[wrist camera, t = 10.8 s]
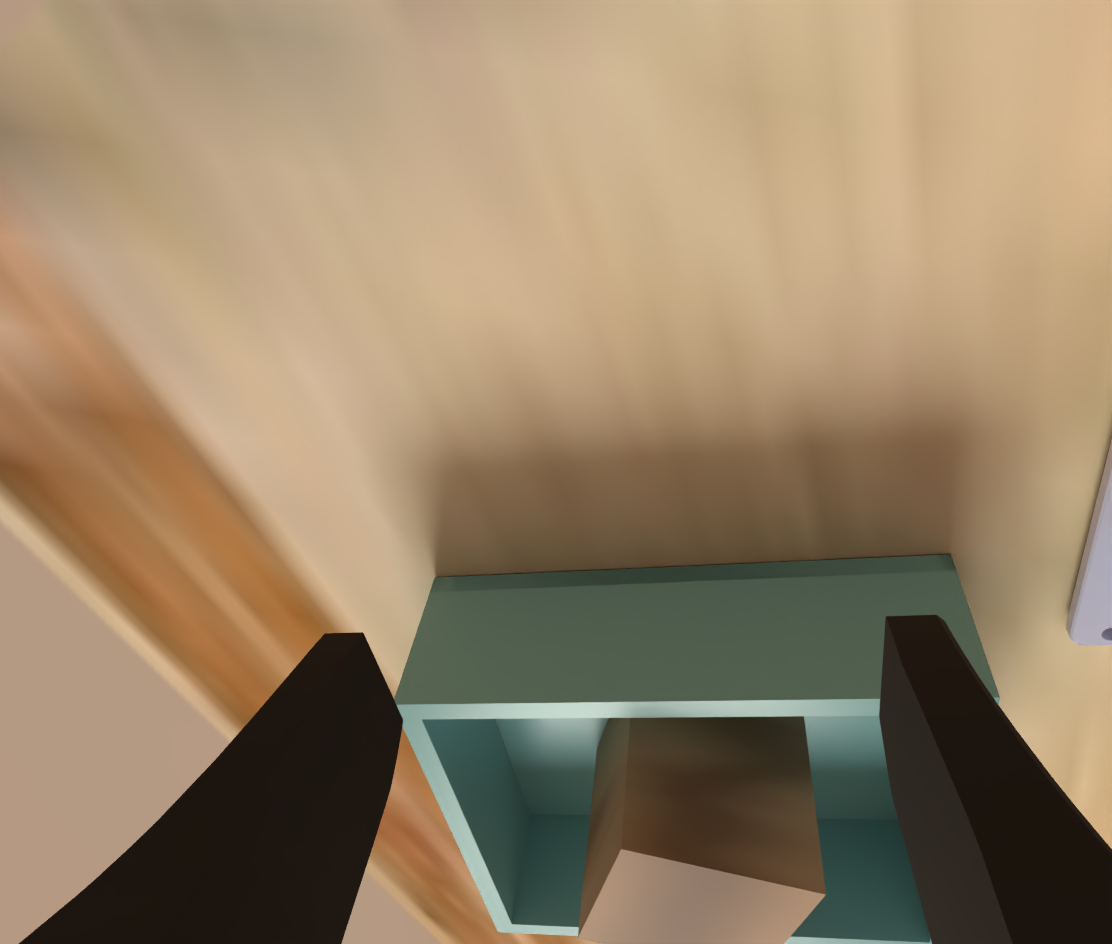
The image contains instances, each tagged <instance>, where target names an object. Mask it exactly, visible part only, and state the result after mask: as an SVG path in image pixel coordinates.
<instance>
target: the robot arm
mask: <svg viewBox="0 0 1112 944" xmlns="http://www.w3.org/2000/svg"><path fill="white" fill-rule="evenodd" d="M1110 627H1112V440H1111V444H1110V448H1109V452H1108V456H1107V460H1106V464H1105V469H1104V473H1103V477H1102V481H1101V485H1100V489H1099V493H1098V497H1097V501H1096V505H1095V509H1094V513H1093V517H1092V521H1091V525H1090V529H1089V533H1088V537H1087V541H1086V545H1085V549H1084V553H1083V557H1082V561H1081V566H1080V570H1079V574H1078V578H1077V582H1076V586H1075V590H1074V594H1073V598H1072V602H1071V606H1070V610H1069V614H1068V618H1067V622H1066V630H1067V632H1068V635H1069V637H1070V639H1071V640H1072V641H1073V642H1074V643H1076V644H1079V645H1085V646H1102V645H1112V628H1110ZM1107 628H1109V629H1107ZM879 719H880V726H881V732H882V739H883V745H884V751H885V758H886V764H887V770H888V776H889V782H890V788H891V794H892V798H893V801H894V805H895V809H896V813H897V817H898V820H899V824H900V828H901V831H902V835H903V839H904V843H905V846H906V850H907V854H908V857H909V861H910V865H911V868H912V872H913V876H914V879H915V883H916V887H917V890H918V894H919V898H920V901H921V905H922V909H923V912H924V916H925V920H926V923H927V927H928V931H929V934H930V938H931V942H932V944H1112V849H1111V848H1110V847H1109V846H1108V844H1107V843H1106V842H1105V841H1104V840H1103V839H1102V837H1101V836H1100V835H1099V834H1098V833H1097V831H1096V830H1095V829H1094V828H1093V827H1092V825H1091V824H1090V823H1089V822H1088V821H1087V819H1086V818H1085V817H1084V816H1083V815H1082V814H1081V812H1080V811H1079V810H1078V809H1077V808H1076V806H1075V805H1074V804H1073V803H1072V802H1071V800H1070V799H1069V798H1068V797H1067V795H1066V794H1065V793H1064V792H1063V790H1062V789H1061V788H1060V787H1059V785H1058V784H1057V783H1056V782H1055V780H1054V779H1053V778H1052V777H1051V775H1050V774H1049V773H1048V771H1047V770H1046V769H1045V767H1044V766H1043V765H1042V763H1041V762H1040V761H1039V759H1038V758H1037V757H1036V755H1035V754H1034V753H1033V751H1032V750H1031V749H1030V748H1029V746H1028V745H1027V744H1026V742H1025V741H1024V740H1023V738H1022V737H1021V736H1020V734H1019V733H1018V732H1017V730H1016V729H1015V728H1014V726H1013V725H1012V723H1011V722H1010V721H1009V719H1008V718H1007V716H1006V715H1005V714H1004V712H1003V711H1002V709H1001V708H1000V707H999V705H998V704H997V702H996V701H995V699H994V698H993V696H992V695H991V693H990V692H989V691H988V689H987V688H986V686H985V685H984V683H983V682H982V680H981V679H980V677H979V676H978V674H977V673H976V671H975V670H974V668H973V667H972V665H971V663H970V662H969V660H968V659H967V657H966V656H965V654H964V652H963V651H962V649H961V647H960V646H959V644H958V642H957V641H956V639H955V638H954V636H953V634H952V632H951V631H950V629H949V627H948V625H947V624H946V622H945V621H944V620H943V619H942V618H940V617H939V616H938V615H908V616H886V619H885V634H884V649H883V664H882V679H881V694H880V709H879ZM402 725H403V718H402V716H401V714H400V712H399V709H398V707H397V705H396V703H395V701H394V699H393V696H392V694H391V692H390V690H389V688H388V686H387V683H386V681H385V679H384V677H383V675H382V672H381V670H380V668H379V666H378V664H377V662H376V659H375V657H374V655H373V653H372V651H371V649H370V646H369V644H368V642H367V640H366V638H365V636H364V633H363V632H362V633H330V634H324V635H323V636H322V637H321V639H320V640H319V641H318V642H317V643H316V644H315V645H314V646H313V648H312V649H311V650H310V651H309V652H308V653H307V655H306V656H305V657H304V658H303V659H302V660H301V662H300V663H299V664H298V665H297V666H296V667H295V669H294V670H293V671H292V672H291V673H290V674H289V676H288V677H287V678H286V679H285V680H284V681H283V683H282V684H281V685H280V686H279V687H278V689H277V690H276V691H275V692H274V693H273V694H272V696H271V697H270V698H269V699H268V700H267V701H266V703H265V704H264V705H263V706H262V707H261V708H260V710H259V711H258V712H257V713H256V714H255V715H254V717H253V718H252V719H251V720H250V721H249V722H248V723H247V725H246V726H245V727H244V728H243V729H242V730H241V731H240V732H239V734H238V735H237V736H236V737H235V738H234V739H233V740H232V742H231V743H230V744H229V745H228V746H227V747H226V748H225V749H224V751H223V752H222V753H221V754H220V755H219V756H218V758H217V759H216V760H215V761H214V762H213V763H212V764H211V765H210V766H209V767H208V768H207V769H206V770H205V771H204V772H203V773H202V775H201V776H200V777H199V778H198V779H197V780H196V781H195V782H194V783H193V784H192V785H191V786H190V787H189V788H188V789H187V791H185V793H183V795H182V796H181V797H180V798H179V799H178V800H177V801H176V802H175V803H174V804H173V805H172V806H171V807H170V808H169V809H168V810H167V811H166V812H165V814H164V815H163V816H162V817H161V818H160V819H159V820H158V821H157V822H156V823H155V824H154V825H153V826H152V827H151V828H150V829H149V830H148V831H147V832H146V833H145V834H144V835H143V836H141V837H140V838H139V839H138V840H137V841H136V842H135V843H134V844H133V845H132V846H131V847H130V848H129V849H128V850H127V851H126V852H125V853H124V854H122V855H121V856H120V857H119V858H118V859H117V860H116V861H115V862H114V863H113V864H112V865H110V866H109V867H108V868H107V869H106V870H105V871H104V872H103V873H102V874H101V875H100V876H99V877H97V878H96V879H95V880H94V881H93V882H92V883H91V884H90V885H88V886H87V887H86V888H85V889H84V890H83V891H82V892H80V893H79V894H78V895H77V896H76V897H75V898H73V899H72V900H71V901H70V902H69V903H67V904H66V905H65V906H64V907H63V908H61V909H60V910H59V911H58V912H57V913H55V914H54V915H53V916H52V917H51V918H49V919H48V920H47V921H46V922H44V923H43V924H42V925H41V926H40V927H38V928H37V929H36V930H35V931H34V932H33V933H31V934H30V935H29V936H28V937H26V938H25V939H24V940H23V941H22V942H20V943H19V944H341V943H342V940H343V937H344V933H345V930H346V927H347V924H348V921H349V918H350V915H351V912H352V909H353V905H354V902H355V899H356V896H357V893H358V890H359V887H360V884H361V881H362V878H363V875H364V871H365V868H366V865H367V862H368V859H369V856H370V853H371V850H372V847H373V844H374V840H375V837H376V834H377V831H378V828H379V825H380V821H381V818H382V815H383V812H384V809H385V805H386V802H387V799H388V795H389V792H390V789H391V784H392V779H393V774H394V770H395V765H396V760H397V754H398V748H399V743H400V737H401V731H402Z"/></svg>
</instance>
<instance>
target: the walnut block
mask: <svg viewBox="0 0 1112 944" xmlns="http://www.w3.org/2000/svg"><path fill="white" fill-rule="evenodd" d="M825 895H826V891H825V882H824V874H823V866H822V858H821V850H820V842H819V833H818V825H817V817H816V809H815V801H814V793H813V785H812V776H811V768H810V760H809V752H808V744H807V736H806V728H805V719H804V716H782V717H660V718H609V719H608V721H607V724H606V726H605V729H604V732H603V734H602V737H601V739H600V742H599V744H598V747H597V753H596V763H595V773H594V783H593V793H592V803H591V813H590V822H589V832H588V842H587V852H586V862H585V872H584V882H583V892H582V902H581V912H580V921H579V931H578V938H580V939H584V940H589V941H593V942H598V943H602V944H784V943H785V942H786V941H787V940H788V939H789V938H790V936H791V935H792V934H793V933H794V932H795V930H796V929H797V928H798V927H799V926H800V925H801V923H802V922H803V921H804V920H805V919H806V918H807V916H808V915H809V914H810V913H811V912H812V911H813V909H814V908H815V907H816V906H817V905H818V903H819V902H820V901H821V900H822V899H823V898H824V896H825Z"/></svg>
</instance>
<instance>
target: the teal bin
mask: <svg viewBox="0 0 1112 944" xmlns="http://www.w3.org/2000/svg"><path fill="white" fill-rule="evenodd" d="M908 615H938V616H939V617H940V618H942V619H943V620H944V621H945V622H946V624H947V625H948V627H949V629H950V631H951V632H952V634H953V636H954V638H955V639H956V641H957V642H958V644H959V646H960V647H961V649H962V651H963V652H964V654H965V656H966V657H967V659H968V660H969V662H970V663H971V665H972V667H973V668H974V670H975V671H976V673H977V674H978V676H979V677H980V679H981V680H982V682H983V683H984V685H985V686H986V688H987V689H988V691H989V692H990V693H991V695H992V696H993V698H994V699H995V701H996V702H997V704H999V699H1000V696H999V694H998V691H997V688H996V685H995V682H994V679H993V676H992V673H991V670H990V667H989V665H988V662H987V659H986V656H985V653H984V650H983V647H982V644H981V641H980V638H979V636H978V633H977V630H976V627H975V624H974V621H973V618H972V615H971V612H970V609H969V607H968V604H967V601H966V598H965V595H964V592H963V589H962V586H961V583H960V580H959V577H958V575H957V572H956V569H955V566H954V563H953V560H952V557H951V554H948V555H926V556H903V557H881V558H859V559H836V560H814V561H792V562H769V563H747V564H725V565H702V566H680V567H658V568H635V569H613V570H591V571H568V572H546V573H524V574H501V575H479V576H456V577H435V579H434V582H433V585H432V588H431V591H430V594H429V597H428V600H427V603H426V606H425V609H424V612H423V615H422V618H421V621H420V624H419V627H418V630H417V633H416V636H415V639H414V642H413V645H412V648H411V651H410V654H409V657H408V660H407V663H406V666H405V669H404V672H403V675H402V678H401V681H400V684H399V687H398V690H397V693H396V696H395V699H394V701H395V703H396V705H397V707H398V709H399V712H400V714H401V716H402V718H403V725H402V726H403V729H404V731H405V733H406V735H407V737H408V739H409V741H410V744H411V746H412V748H413V750H414V752H415V754H416V756H417V759H418V761H419V763H420V765H421V767H422V769H423V772H424V774H425V776H426V778H427V780H428V782H429V784H430V787H431V789H432V791H433V793H434V795H435V797H436V800H437V802H438V804H439V806H440V808H441V810H442V812H443V815H444V817H445V819H446V821H447V823H448V825H449V827H450V830H451V832H452V834H453V836H454V838H455V840H456V843H457V845H458V847H459V849H460V851H461V853H462V855H463V858H464V860H465V862H466V864H467V866H468V868H469V870H470V873H471V875H472V877H473V879H474V881H475V883H476V886H477V888H478V890H479V892H480V894H481V896H482V898H483V901H484V903H485V905H486V907H487V909H488V911H489V914H490V916H491V918H492V920H493V922H494V924H495V926H496V929H497V931H498V932H504V933H526V934H548V935H570V936H578V931H579V921H580V912H581V902H582V892H583V882H584V872H585V862H586V852H587V842H588V832H589V822H590V813H591V803H592V793H593V783H594V773H595V763H596V753H597V747H598V744H599V742H600V739H601V737H602V734H603V732H604V729H605V726H606V724H607V721H608V719H609V718H660V717H782V716H804V719H805V728H806V736H807V744H808V752H809V760H810V768H811V776H812V785H813V793H814V801H815V809H816V817H817V825H818V833H819V842H820V850H821V858H822V866H823V874H824V882H825V891H826V895H825V896H824V898H823V899H822V900H821V901H820V902H819V903H818V905H817V906H816V907H815V908H814V909H813V911H812V912H811V913H810V914H809V915H808V916H807V918H806V919H805V920H804V921H803V922H802V923H801V925H800V926H799V927H798V928H797V929H796V930H795V932H794V933H793V934H792V935H791V936H790V938H789V939H788V940H787V941H786V942H785V943H784V944H932V942H931V938H930V934H929V931H928V927H927V923H926V920H925V916H924V912H923V909H922V905H921V901H920V898H919V894H918V890H917V887H916V883H915V879H914V876H913V872H912V868H911V865H910V861H909V857H908V854H907V850H906V846H905V843H904V839H903V835H902V831H901V828H900V824H899V820H898V817H897V813H896V809H895V805H894V801H893V798H892V794H891V788H890V782H889V776H888V770H887V764H886V758H885V751H884V745H883V739H882V732H881V726H880V719H879V709H880V694H881V679H882V664H883V649H884V634H885V619H886V616H908Z"/></svg>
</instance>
